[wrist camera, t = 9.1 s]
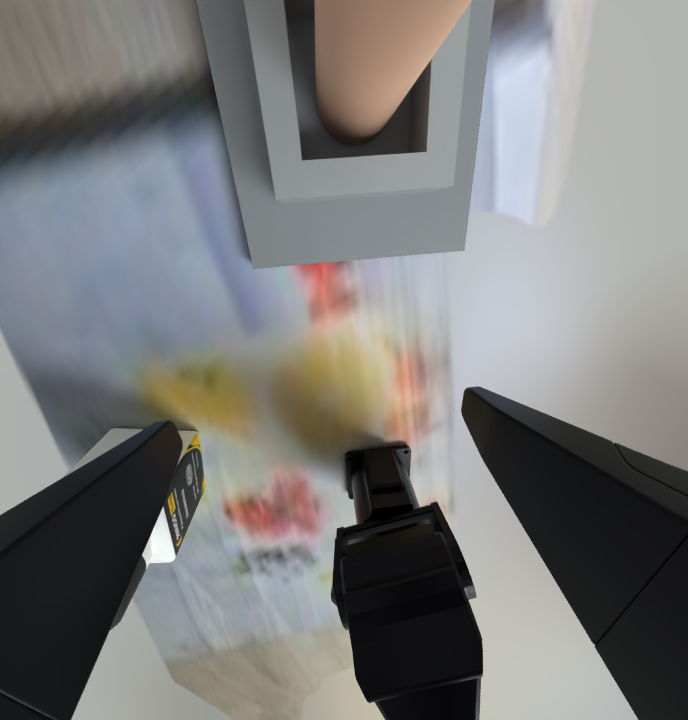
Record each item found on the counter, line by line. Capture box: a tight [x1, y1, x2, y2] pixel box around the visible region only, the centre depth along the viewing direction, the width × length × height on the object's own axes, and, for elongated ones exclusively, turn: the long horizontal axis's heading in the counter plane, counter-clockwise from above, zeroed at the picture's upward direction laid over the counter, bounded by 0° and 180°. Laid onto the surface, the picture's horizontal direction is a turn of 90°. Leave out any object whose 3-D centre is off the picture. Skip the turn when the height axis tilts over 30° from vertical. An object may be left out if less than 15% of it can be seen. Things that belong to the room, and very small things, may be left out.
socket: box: [196, 0, 495, 269], centre depth 13 cm, size 16×14×4 cm
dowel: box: [315, 0, 472, 146], centre depth 9 cm, size 4×4×12 cm
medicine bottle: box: [64, 428, 206, 630], centre depth 20 cm, size 7×7×12 cm
